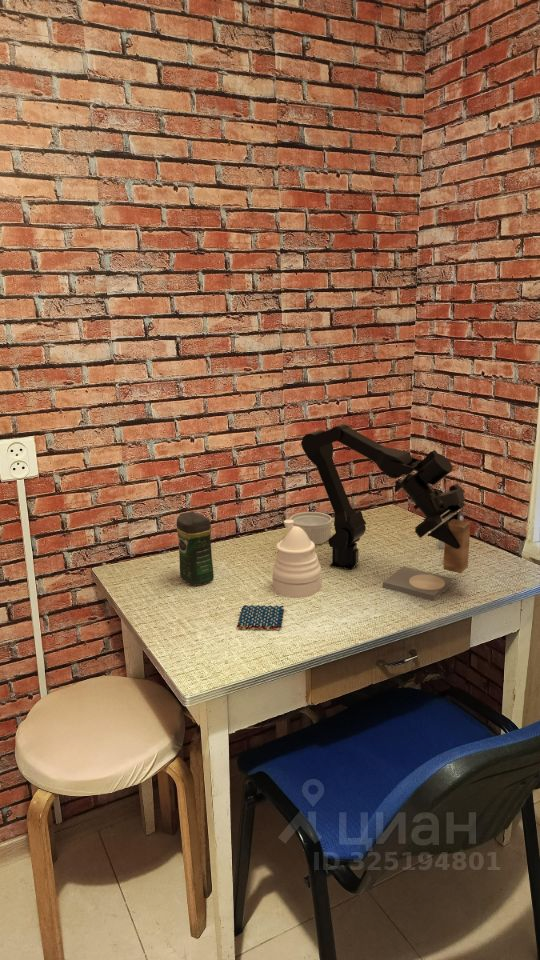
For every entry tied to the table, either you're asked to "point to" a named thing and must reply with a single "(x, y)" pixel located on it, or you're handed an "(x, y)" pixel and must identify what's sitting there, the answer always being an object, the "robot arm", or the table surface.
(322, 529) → the ramekin
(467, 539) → the walnut block
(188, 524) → the coffee jar
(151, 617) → the table surface
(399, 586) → the slate board
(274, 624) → the woven mat
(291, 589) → the honey pot
